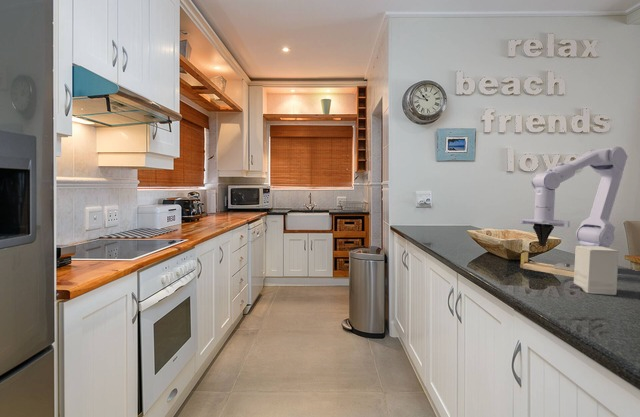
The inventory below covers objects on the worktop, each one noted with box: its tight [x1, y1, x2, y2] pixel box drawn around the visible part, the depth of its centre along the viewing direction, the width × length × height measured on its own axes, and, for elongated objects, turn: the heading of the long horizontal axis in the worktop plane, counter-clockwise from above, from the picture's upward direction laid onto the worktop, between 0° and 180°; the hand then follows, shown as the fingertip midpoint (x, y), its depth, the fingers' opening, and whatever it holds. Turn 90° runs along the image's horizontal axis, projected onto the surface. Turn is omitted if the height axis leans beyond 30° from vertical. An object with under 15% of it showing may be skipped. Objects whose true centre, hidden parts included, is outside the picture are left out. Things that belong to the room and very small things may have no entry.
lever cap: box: [553, 262, 575, 271], centre depth 110 cm, size 5×6×2 cm
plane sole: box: [519, 260, 574, 278], centre depth 114 cm, size 7×17×2 cm, turn 39°
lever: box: [520, 251, 529, 265], centre depth 120 cm, size 4×1×5 cm, turn 129°
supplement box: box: [573, 245, 620, 296], centre depth 95 cm, size 7×7×13 cm
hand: (542, 245), depth 115 cm, fingers closed
